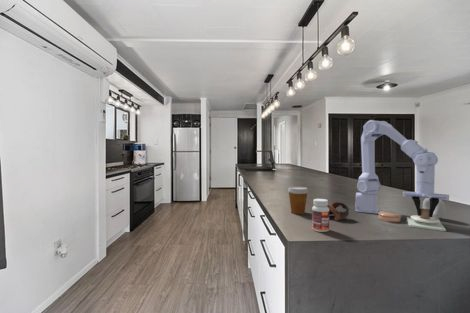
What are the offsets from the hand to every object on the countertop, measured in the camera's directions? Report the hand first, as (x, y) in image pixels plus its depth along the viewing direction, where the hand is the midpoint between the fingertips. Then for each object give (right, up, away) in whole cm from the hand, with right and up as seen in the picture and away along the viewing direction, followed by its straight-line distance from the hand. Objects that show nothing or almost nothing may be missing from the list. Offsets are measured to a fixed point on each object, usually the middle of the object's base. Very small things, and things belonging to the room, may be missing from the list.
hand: (424, 216), depth 99 cm
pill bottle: (-44, -4, -6) cm, 45 cm away
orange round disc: (-10, -3, +7) cm, 13 cm away
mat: (0, -3, 0) cm, 3 cm away
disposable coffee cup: (-46, -3, +20) cm, 50 cm away
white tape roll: (+11, -3, +9) cm, 14 cm away
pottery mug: (-33, -4, +10) cm, 34 cm away
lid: (0, -1, 0) cm, 1 cm away
